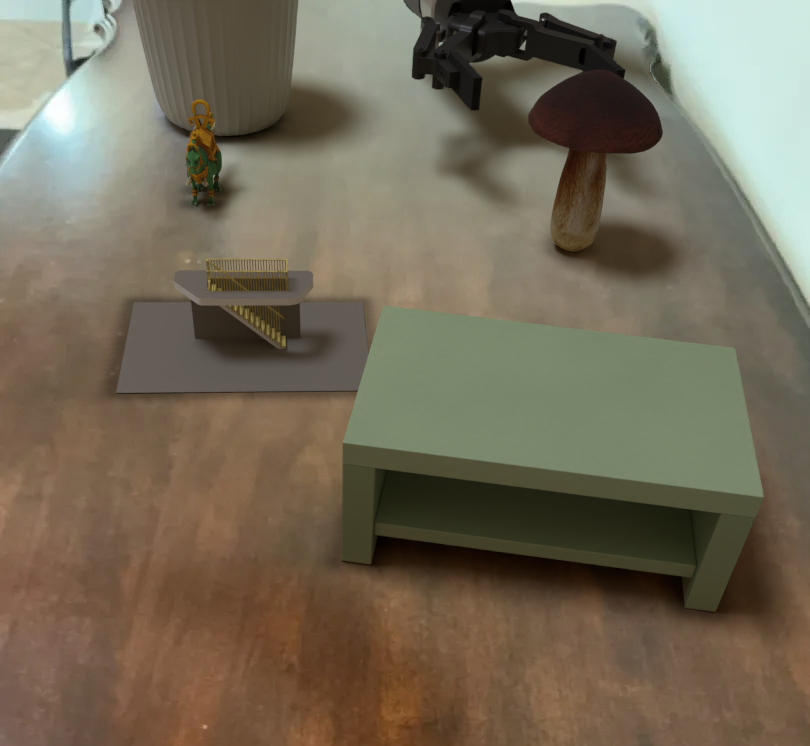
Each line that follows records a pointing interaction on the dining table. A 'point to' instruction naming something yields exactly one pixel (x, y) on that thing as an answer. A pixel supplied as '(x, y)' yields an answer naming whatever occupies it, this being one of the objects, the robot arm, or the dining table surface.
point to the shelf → (552, 447)
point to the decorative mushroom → (590, 144)
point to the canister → (220, 59)
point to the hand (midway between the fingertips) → (549, 90)
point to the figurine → (203, 154)
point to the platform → (244, 336)
